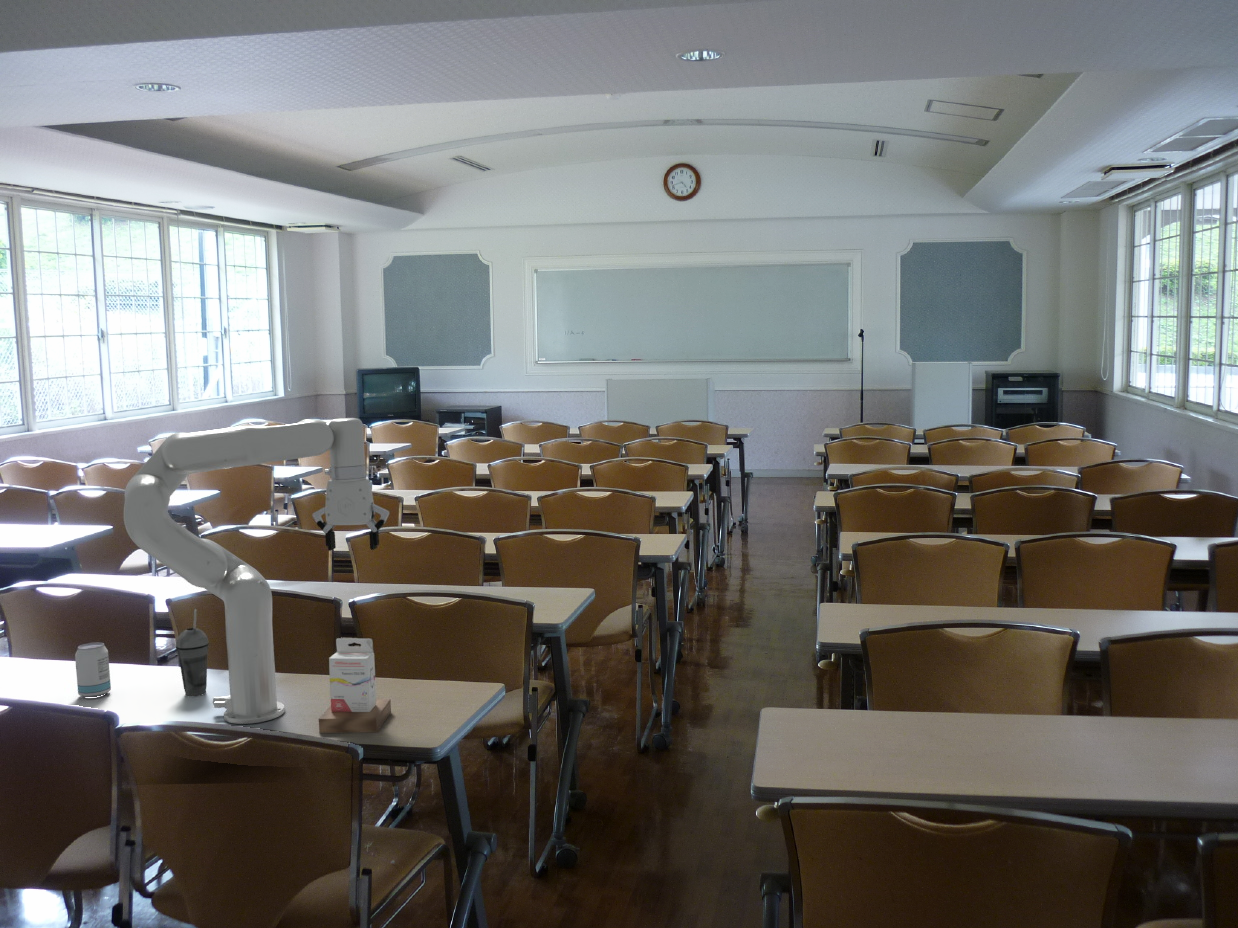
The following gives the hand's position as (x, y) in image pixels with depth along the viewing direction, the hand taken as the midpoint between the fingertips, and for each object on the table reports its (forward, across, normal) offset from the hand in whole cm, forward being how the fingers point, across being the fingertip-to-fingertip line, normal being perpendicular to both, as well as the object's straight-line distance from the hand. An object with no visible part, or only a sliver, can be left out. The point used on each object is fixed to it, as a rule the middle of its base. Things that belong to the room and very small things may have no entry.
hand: (352, 549), depth 237 cm
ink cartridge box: (+32, +4, -17) cm, 36 cm away
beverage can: (+34, -65, +2) cm, 73 cm away
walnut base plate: (+34, +4, -17) cm, 38 cm away
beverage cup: (+34, -41, +4) cm, 53 cm away
